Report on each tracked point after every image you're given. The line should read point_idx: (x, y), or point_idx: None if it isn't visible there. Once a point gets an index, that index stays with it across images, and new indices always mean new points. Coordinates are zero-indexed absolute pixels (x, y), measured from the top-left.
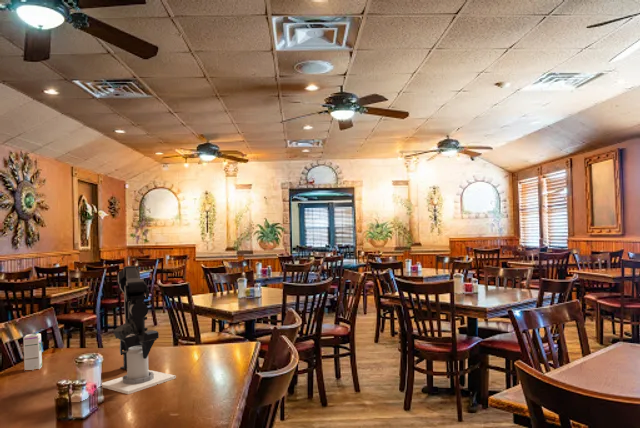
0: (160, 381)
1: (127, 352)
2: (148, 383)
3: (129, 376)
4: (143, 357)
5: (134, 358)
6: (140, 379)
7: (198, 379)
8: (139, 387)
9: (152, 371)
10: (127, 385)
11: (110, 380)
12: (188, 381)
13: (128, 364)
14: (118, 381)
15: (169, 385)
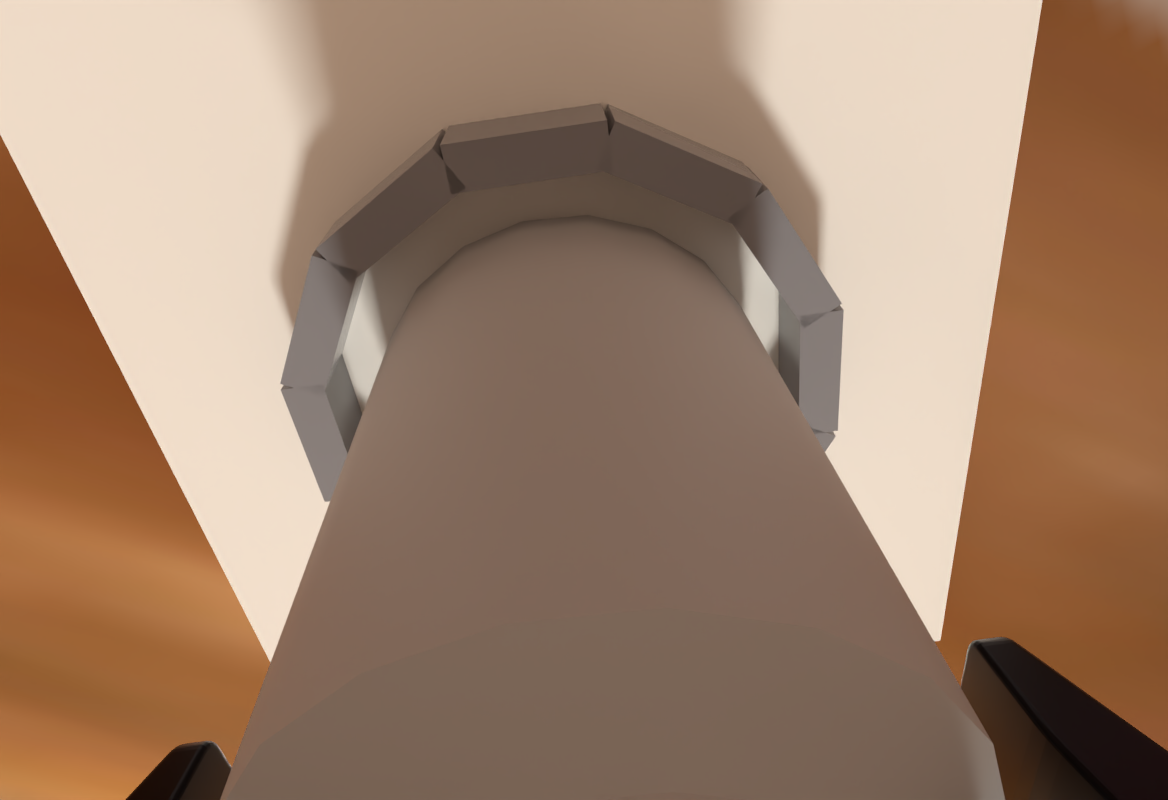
0: (210, 532)
1: (757, 675)
2: (188, 379)
3: (529, 243)
4: (180, 767)
5: (313, 590)
6: (294, 337)
7: (60, 793)
8: (32, 175)
9: None
10: (359, 81)
11: (1037, 14)
12: (54, 719)
13: (560, 364)
14: (802, 94)
15: (30, 542)
